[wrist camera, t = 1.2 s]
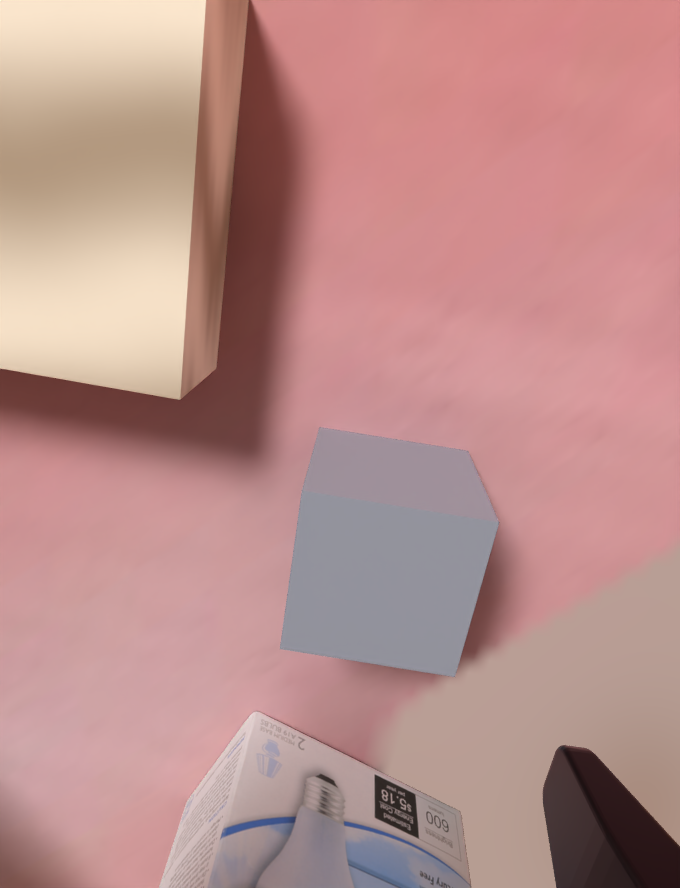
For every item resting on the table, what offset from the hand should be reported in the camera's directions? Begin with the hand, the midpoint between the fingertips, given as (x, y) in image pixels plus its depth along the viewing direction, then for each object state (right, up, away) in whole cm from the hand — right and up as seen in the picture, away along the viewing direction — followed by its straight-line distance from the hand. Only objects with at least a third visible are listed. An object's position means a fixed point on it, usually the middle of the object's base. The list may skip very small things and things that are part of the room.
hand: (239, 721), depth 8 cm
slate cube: (+3, +2, +12) cm, 12 cm away
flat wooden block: (-7, +12, +9) cm, 16 cm away
